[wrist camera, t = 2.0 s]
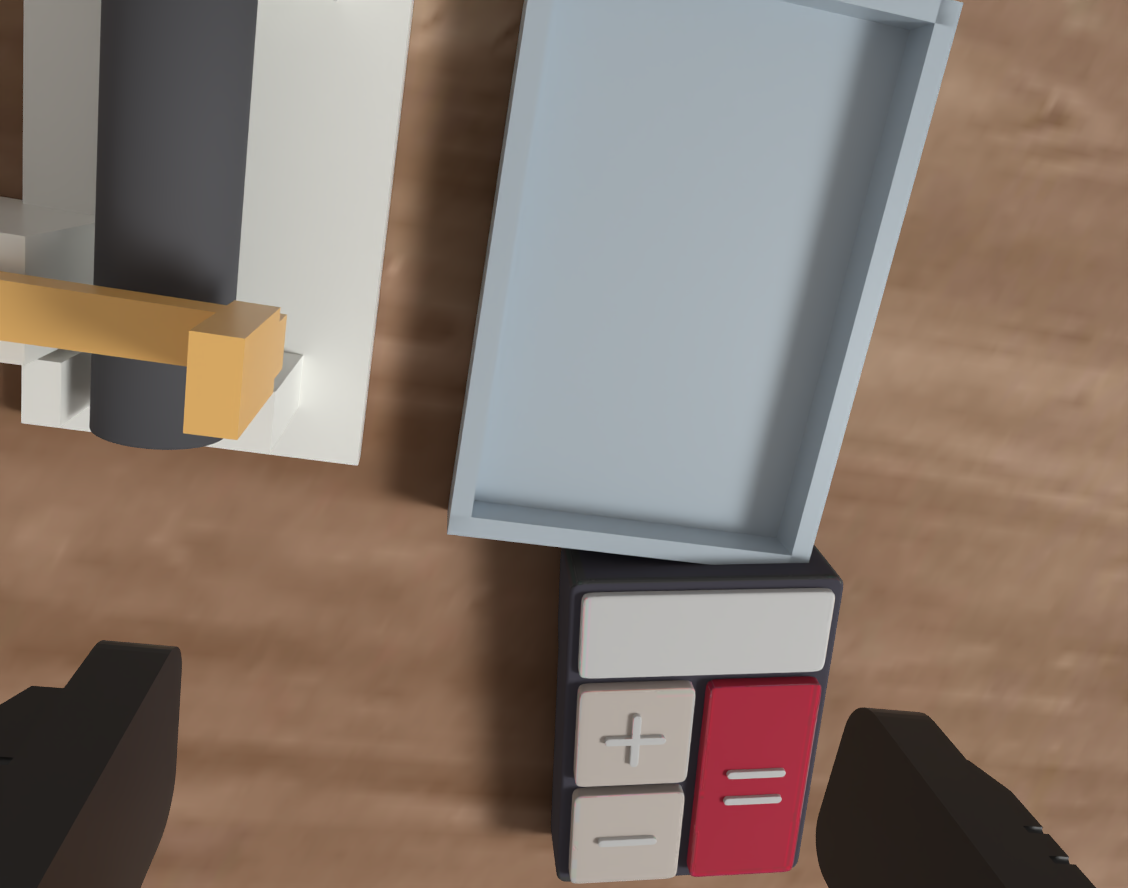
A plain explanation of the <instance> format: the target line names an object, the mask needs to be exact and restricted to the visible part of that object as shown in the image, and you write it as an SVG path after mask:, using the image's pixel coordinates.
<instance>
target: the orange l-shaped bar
mask: <svg viewBox="0 0 1128 888" xmlns="http://www.w3.org/2000/svg"><path fill="white" fill-rule="evenodd" d="M280 309H281V307H275V306H269V305H262V304H256V303H249V302H243V301H236V300H234V301H233V302H231V303H230V304H228V305H221V304H215V303H208V302H202V301H195V300H188V299H182V298H175V297H168V296H162V295H155V294H149V293H142V292H135V291H129V290H122V289H116V288H109V287H102V286H96V285H89V284H82V283H76V282H69V281H63V280H56V279H49V278H43V277H36V276H30V275H23V274H16V273H10V272H3V271H0V341H8V342H15V343H22V344H29V345H36V346H43V347H50V348H58V349H65V350H72V351H79V352H86V353H93V354H101V355H108V356H115V357H122V358H129V359H136V360H144V361H151V362H158V363H165V364H172V365H179V366H187V373H186V390H185V407H184V424H183V433H185V434H193V435H201V436H209V437H217V438H224V439H232V440H238V439H239V437H240V436H241V435H242V433H243V432H244V431H245V429H246V428H247V427H248V425H249V424H250V423H251V421H252V420H253V419H254V417H255V416H256V415H257V413H258V412H259V411H260V409H261V408H262V407H263V405H264V404H265V403H266V402H267V400H268V399H269V398H270V396H271V395H272V394H273V389H274V379H275V377H276V376H277V375H278V374H279V372H280V371H281V370H282V365H283V354H284V343H285V332H286V321H287V314H281V313H280Z"/></svg>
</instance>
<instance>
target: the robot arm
mask: <svg viewBox="0 0 1128 888" xmlns="http://www.w3.org/2000/svg"><path fill="white" fill-rule="evenodd" d="M181 672H182V658H181V652H180V649H179V648H178V647H175V646H163V645H152V644H140V643H129V642H117V641H105V640H102V641H100V642H98V643H97V644H96V645H95V646H94V648H93V649H92V650H91V652H90V653H89V655H88V656H87V657H86V659H85V660H84V661H83V663H82V664H81V666H80V667H79V668H78V670H77V671H76V672H75V674H74V675H73V677H72V678H71V679H70V681H69V682H68V683H67V685H66V686H65V688H53V687H40V686H31V687H29V688H27V689H26V690H24V691H22V692H21V693H19V694H17V695H16V696H14V697H12V698H11V699H9V700H7V701H6V702H4V703H2V704H1V705H0V888H141V885H142V883H143V880H144V878H145V876H146V873H147V871H148V869H149V866H150V864H151V862H152V859H153V857H154V855H155V852H156V850H157V848H158V845H159V843H160V840H161V838H162V835H163V832H164V829H165V826H166V822H167V819H168V815H169V811H170V806H171V802H172V796H173V790H174V784H175V775H176V759H177V742H178V724H179V707H180V689H181ZM816 850H817V857H818V862H819V866H820V869H821V872H822V875H823V877H824V879H825V881H826V883H827V885H828V887H829V888H1096V887H1095V886H1094V885H1093V884H1092V883H1091V882H1090V880H1089V879H1088V878H1087V877H1086V876H1085V875H1084V874H1083V873H1082V871H1081V870H1080V869H1079V868H1078V867H1077V866H1076V865H1072V864H1069V860H1068V858H1069V857H1068V855H1067V854H1066V853H1065V852H1064V851H1063V850H1062V849H1061V848H1060V846H1059V845H1058V844H1057V843H1056V842H1055V841H1054V840H1053V838H1052V837H1051V836H1050V835H1049V834H1043V832H1042V826H1041V825H1040V824H1039V823H1038V821H1037V820H1036V819H1035V818H1034V817H1033V816H1032V815H1031V813H1030V812H1029V811H1028V810H1027V809H1026V808H1025V807H1024V805H1023V804H1022V803H1021V802H1020V801H1019V800H1018V799H1017V798H1016V796H1015V795H1014V794H1013V793H1012V792H1011V791H1010V790H1008V789H1007V788H1006V787H1004V786H1003V785H1002V784H1000V783H999V782H997V781H996V780H995V779H993V778H992V777H991V776H989V775H988V774H987V773H985V772H984V771H982V770H981V769H980V768H978V767H977V766H976V765H974V764H973V763H971V762H970V761H969V760H966V759H965V757H964V756H963V755H962V754H961V753H960V751H959V750H958V749H957V748H956V747H955V746H954V744H953V743H952V742H951V741H950V740H949V739H948V737H947V736H946V735H945V734H944V733H943V732H942V730H941V729H940V728H939V727H938V726H937V725H936V723H935V722H934V721H933V720H932V719H931V718H930V717H929V716H927V715H926V714H924V713H920V712H910V711H898V710H886V709H875V708H858V709H856V710H855V711H854V712H853V713H852V714H851V715H850V717H849V719H848V721H847V723H846V726H845V729H844V732H843V735H842V739H841V742H840V745H839V749H838V752H837V755H836V759H835V762H834V765H833V769H832V772H831V775H830V779H829V782H828V785H827V789H826V792H825V795H824V799H823V802H822V805H821V809H820V812H819V816H818V820H817V826H816Z"/></svg>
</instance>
